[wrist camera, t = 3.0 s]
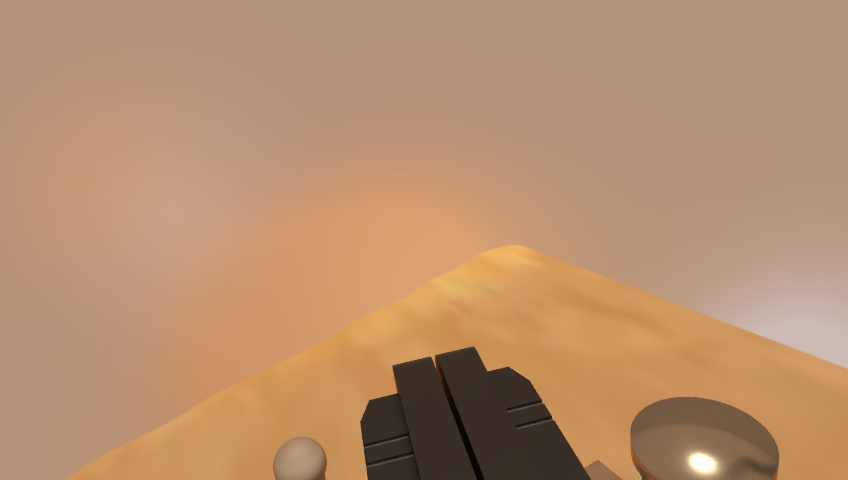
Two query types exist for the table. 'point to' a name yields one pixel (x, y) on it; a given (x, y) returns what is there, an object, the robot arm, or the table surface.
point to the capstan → (701, 442)
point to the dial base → (306, 462)
